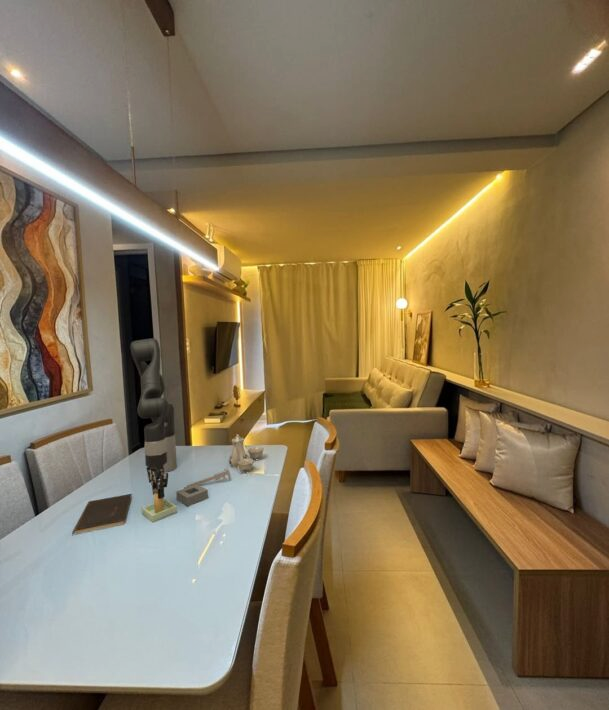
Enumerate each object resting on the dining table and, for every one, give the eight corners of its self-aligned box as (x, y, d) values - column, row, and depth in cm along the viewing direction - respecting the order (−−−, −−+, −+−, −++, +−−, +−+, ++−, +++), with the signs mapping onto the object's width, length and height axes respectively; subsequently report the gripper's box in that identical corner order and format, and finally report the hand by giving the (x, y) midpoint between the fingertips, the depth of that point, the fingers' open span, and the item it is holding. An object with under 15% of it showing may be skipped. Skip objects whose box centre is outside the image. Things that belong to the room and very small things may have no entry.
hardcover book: (132, 499, 144) (131, 493, 144) (125, 526, 123) (124, 519, 123) (87, 507, 139) (87, 501, 138) (72, 537, 117) (72, 530, 117)
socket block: (176, 499, 140) (176, 491, 140) (196, 492, 147) (196, 484, 147) (187, 506, 134) (187, 497, 134) (208, 498, 141) (207, 489, 141)
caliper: (230, 480, 159) (229, 467, 158) (230, 481, 158) (230, 467, 157) (183, 488, 152) (182, 474, 152) (183, 489, 151) (182, 475, 151)
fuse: (153, 512, 130) (151, 489, 129) (161, 508, 132) (160, 486, 132) (157, 515, 127) (155, 491, 127) (165, 511, 130) (164, 488, 129)
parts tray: (142, 514, 130) (141, 507, 129) (166, 505, 136) (165, 499, 136) (152, 522, 123) (152, 515, 123) (177, 512, 130) (176, 506, 130)
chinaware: (254, 479, 163) (256, 444, 162) (219, 476, 163) (221, 441, 163) (264, 458, 191) (266, 429, 190) (234, 456, 191) (236, 426, 191)
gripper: (137, 450, 131) (140, 494, 132) (153, 458, 121) (156, 505, 122) (157, 445, 136) (160, 487, 137) (174, 452, 127) (177, 498, 127)
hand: (158, 496), depth 129 cm, fingers open, 4 cm apart
